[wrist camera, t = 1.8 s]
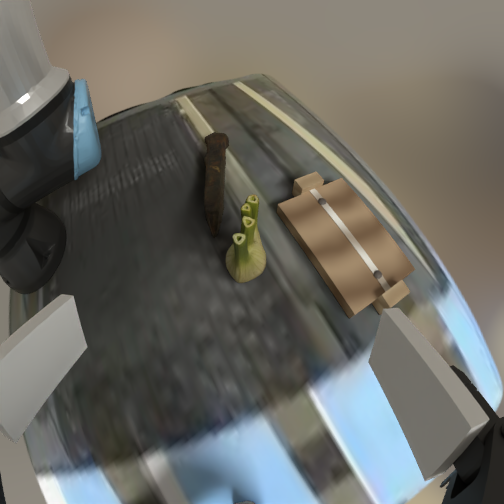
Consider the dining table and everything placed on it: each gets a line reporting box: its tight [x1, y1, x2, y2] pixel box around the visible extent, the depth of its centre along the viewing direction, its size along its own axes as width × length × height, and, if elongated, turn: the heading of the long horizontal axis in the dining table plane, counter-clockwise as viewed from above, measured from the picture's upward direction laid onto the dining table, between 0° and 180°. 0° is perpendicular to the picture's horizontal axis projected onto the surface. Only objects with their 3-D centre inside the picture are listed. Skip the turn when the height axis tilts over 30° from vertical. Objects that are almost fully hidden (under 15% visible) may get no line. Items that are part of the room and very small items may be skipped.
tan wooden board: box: [277, 172, 415, 318], centre depth 36 cm, size 22×12×3 cm, turn 29°
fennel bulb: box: [226, 195, 266, 283], centre depth 31 cm, size 6×5×12 cm
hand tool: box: [204, 132, 229, 238], centre depth 40 cm, size 19×4×5 cm, turn 0°
